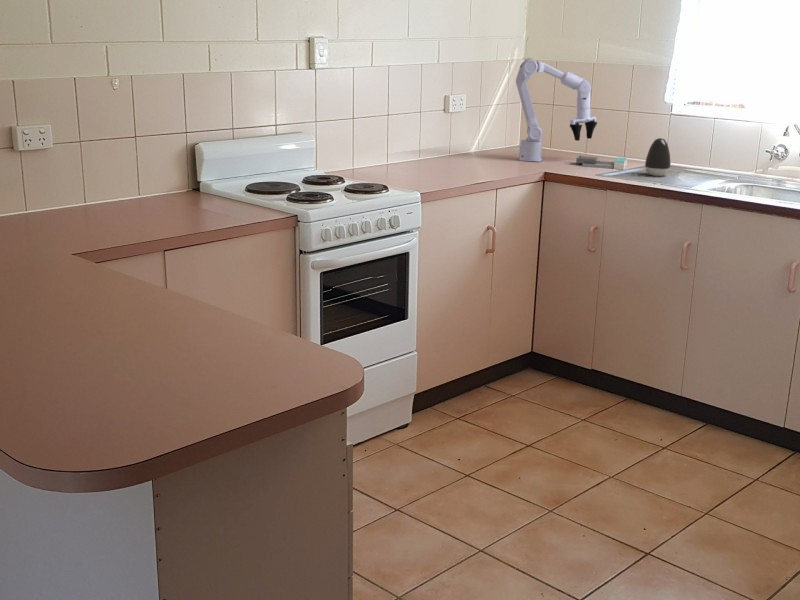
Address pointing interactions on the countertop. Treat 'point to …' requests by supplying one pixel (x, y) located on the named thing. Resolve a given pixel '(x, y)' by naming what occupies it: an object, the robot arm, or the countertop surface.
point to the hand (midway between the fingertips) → (583, 139)
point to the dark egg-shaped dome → (658, 158)
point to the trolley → (585, 159)
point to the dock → (609, 164)
